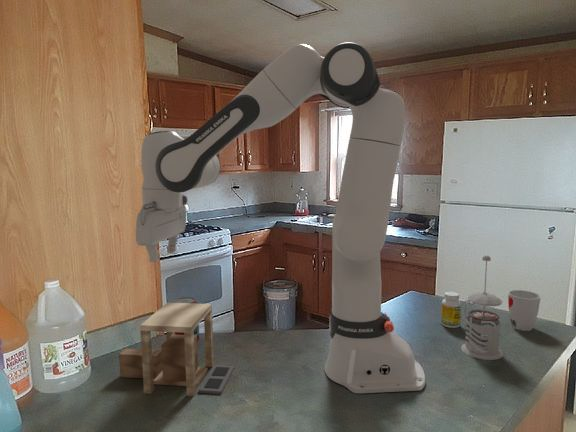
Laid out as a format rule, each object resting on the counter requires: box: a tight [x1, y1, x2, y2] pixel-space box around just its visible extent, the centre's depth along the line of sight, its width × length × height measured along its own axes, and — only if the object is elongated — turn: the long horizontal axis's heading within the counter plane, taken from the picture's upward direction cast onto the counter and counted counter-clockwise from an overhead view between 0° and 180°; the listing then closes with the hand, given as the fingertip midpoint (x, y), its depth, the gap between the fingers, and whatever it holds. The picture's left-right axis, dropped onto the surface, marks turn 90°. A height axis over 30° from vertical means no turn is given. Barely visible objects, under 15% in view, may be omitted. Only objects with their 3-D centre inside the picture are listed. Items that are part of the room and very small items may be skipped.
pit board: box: [198, 364, 235, 395], centre depth 94 cm, size 5×11×1 cm, turn 173°
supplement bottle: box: [440, 291, 462, 329], centre depth 123 cm, size 5×5×10 cm
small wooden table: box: [139, 302, 215, 397], centre depth 94 cm, size 11×14×15 cm
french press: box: [460, 255, 504, 361], centre depth 106 cm, size 10×12×25 cm
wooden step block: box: [118, 334, 208, 388], centre depth 95 cm, size 19×7×9 cm, turn 83°
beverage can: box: [174, 296, 200, 343], centre depth 112 cm, size 7×7×12 cm
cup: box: [507, 289, 541, 332], centre depth 120 cm, size 8×8×10 cm
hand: (163, 256), depth 101 cm, fingers open, 8 cm apart
